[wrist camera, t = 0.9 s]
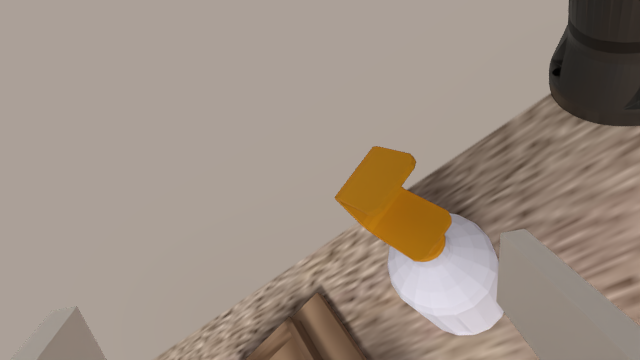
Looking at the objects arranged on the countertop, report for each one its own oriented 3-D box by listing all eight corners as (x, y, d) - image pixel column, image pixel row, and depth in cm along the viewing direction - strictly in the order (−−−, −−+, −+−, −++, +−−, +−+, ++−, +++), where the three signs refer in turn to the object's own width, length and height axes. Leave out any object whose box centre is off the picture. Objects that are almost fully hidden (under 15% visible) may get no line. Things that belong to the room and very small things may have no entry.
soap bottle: (477, 356, 34) (389, 288, 16) (402, 299, 40) (278, 203, 22) (526, 279, 35) (496, 136, 17) (446, 235, 41) (362, 95, 23)
